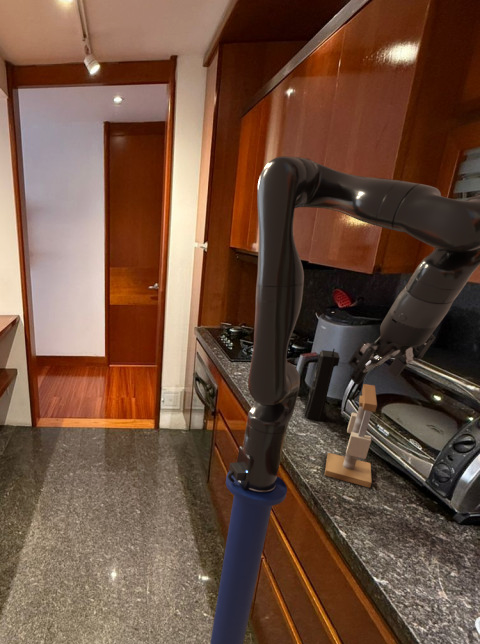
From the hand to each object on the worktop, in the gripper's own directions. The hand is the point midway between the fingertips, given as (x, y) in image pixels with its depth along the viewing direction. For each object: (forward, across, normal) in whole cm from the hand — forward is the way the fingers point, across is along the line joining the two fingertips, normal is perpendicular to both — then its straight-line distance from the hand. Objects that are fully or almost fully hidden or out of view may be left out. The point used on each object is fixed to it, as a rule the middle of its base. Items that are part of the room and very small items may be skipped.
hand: (373, 377), depth 80 cm
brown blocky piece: (+26, -8, 0) cm, 27 cm away
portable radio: (+49, -20, -24) cm, 58 cm away
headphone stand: (+34, -6, +4) cm, 35 cm away
